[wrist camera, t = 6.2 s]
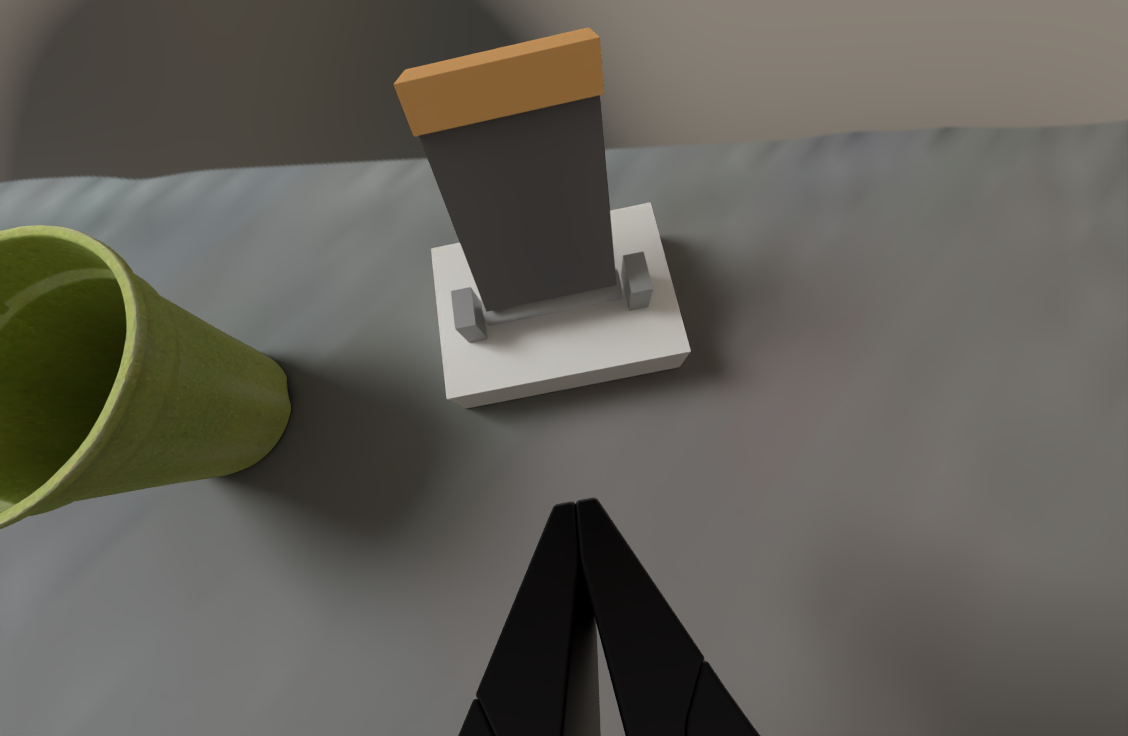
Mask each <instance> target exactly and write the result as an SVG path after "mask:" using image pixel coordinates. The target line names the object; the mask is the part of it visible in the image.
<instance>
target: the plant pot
mask: <svg viewBox="0 0 1128 736" xmlns="http://www.w3.org/2000/svg"><path fill="white" fill-rule="evenodd" d="M290 412H291V404H290V400H289V396H288V390H287V377H286V375H285V373H284V371H283V370H282V368H281V367H280V366H279V365H278V364H277V363H276V362H275V361H274V360H273V359H271V358H270V357H268V356H266V355H264V354H262V353H261V352H259V351H257V350H255V349H254V348H252V347H250V346H248V345H246V344H245V343H243V342H241V341H239V340H237V339H235V338H233V337H232V336H230V335H228V334H226V333H224V332H222V331H221V330H219V329H217V328H215V327H213V326H212V325H210V324H208V323H207V322H205V321H203V320H201V319H200V318H198V317H196V316H194V315H193V314H191V313H189V312H188V311H186V310H184V309H182V308H181V307H179V306H177V305H176V304H174V303H172V302H170V301H169V300H167V299H165V298H163V297H162V296H160V295H159V294H158V293H157V291H156V290H155V289H154V288H153V287H152V286H150V285H149V284H148V283H147V282H146V281H145V280H143V279H142V278H140V277H139V276H137V275H135V274H134V273H133V271H132V270H131V268H130V267H129V266H128V264H127V263H126V262H125V261H124V259H123V258H122V257H120V256H119V255H118V254H117V253H116V252H115V251H114V250H113V249H111V248H110V247H108V246H107V245H105V244H104V243H102V242H100V241H99V240H97V239H95V238H93V237H91V236H88V235H86V234H84V233H82V232H79V231H76V230H73V229H69V228H64V227H58V226H41V225H39V226H23V227H17V228H13V229H8V230H3V231H0V529H2V528H4V527H7V526H9V525H11V524H13V523H16V522H18V521H20V520H22V519H23V518H25V517H27V516H33V515H37V514H41V513H45V512H49V511H52V510H55V509H57V508H60V507H62V506H65V505H67V504H69V503H72V502H74V501H79V500H84V499H90V498H96V497H102V496H107V495H113V494H118V493H124V492H129V491H135V490H140V489H145V488H151V487H157V486H163V485H169V484H175V483H181V482H188V481H194V480H201V479H207V478H213V477H219V476H225V475H229V474H232V473H235V472H238V471H240V470H243V469H245V468H248V467H250V466H252V465H254V464H256V463H257V462H258V461H260V460H261V459H262V458H264V457H265V456H266V455H267V454H268V453H269V452H270V451H271V450H272V449H273V447H274V446H275V445H276V444H277V442H278V441H279V439H280V437H281V436H282V434H283V432H284V430H285V428H286V425H287V423H288V420H289V416H290Z"/></svg>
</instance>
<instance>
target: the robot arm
mask: <svg viewBox="0 0 1128 736" xmlns="http://www.w3.org/2000/svg"><path fill="white" fill-rule="evenodd" d="M596 623H597V627H598V631H599V635H600V639H601V643H602V647H603V650H604V654H605V658H606V662H607V666H608V670H609V673H610V677H611V681H612V685H613V689H614V693H615V697H616V700H617V704H618V708H619V712H620V716H621V720H622V723H623V727H624V731H625V735H626V736H760V735H759V733H758V732H757V731H756V730H755V728H754V727H753V726H752V724H751V723H750V722H749V720H748V719H747V717H746V716H745V715H744V713H743V712H742V710H741V709H740V708H739V706H738V705H737V703H736V702H735V701H734V699H733V698H732V696H731V695H730V694H729V692H728V691H727V689H726V688H725V687H724V685H723V684H722V682H721V681H720V679H719V678H718V676H717V675H716V673H715V672H714V670H713V669H712V667H711V666H710V664H709V663H708V662H706V661H705V662H704V656H703V655H702V653H701V652H700V650H699V649H698V647H697V646H696V644H695V643H694V641H693V640H692V638H691V637H690V635H689V634H688V632H687V631H686V629H685V628H684V626H683V625H682V623H681V622H680V620H679V619H678V618H677V616H676V615H675V613H674V612H673V610H672V609H671V607H670V606H669V604H668V603H667V601H666V600H665V598H664V597H663V595H662V594H661V592H660V591H659V589H658V588H657V586H656V585H655V583H654V582H653V581H652V579H651V578H650V576H649V575H648V573H647V572H646V570H645V569H644V567H643V566H642V564H641V563H640V561H639V560H638V558H637V557H636V555H635V554H634V552H633V551H632V549H631V548H630V546H629V545H628V544H627V542H626V541H625V539H624V538H623V536H622V535H621V533H620V532H619V530H618V529H617V527H616V526H615V524H614V523H613V521H612V520H611V518H610V517H609V515H608V514H607V512H606V511H605V509H604V508H603V507H602V505H601V504H600V502H599V501H598V499H596V498H588V499H583V500H578V501H577V502H576V504H575V503H574V502H566V503H561V504H556V505H555V506H554V507H553V509H552V511H551V513H550V516H549V518H548V521H547V523H546V526H545V528H544V530H543V533H542V535H541V538H540V540H539V542H538V545H537V547H536V550H535V552H534V555H533V557H532V559H531V562H530V564H529V567H528V569H527V572H526V574H525V576H524V579H523V581H522V584H521V586H520V588H519V591H518V593H517V596H516V598H515V601H514V603H513V605H512V608H511V610H510V613H509V615H508V618H507V620H506V622H505V625H504V627H503V630H502V632H501V634H500V637H499V639H498V642H497V644H496V647H495V649H494V651H493V654H492V656H491V659H490V661H489V664H488V666H487V668H486V671H485V673H484V676H483V678H482V680H481V683H480V685H479V688H478V690H477V693H476V697H477V699H478V700H477V699H474V700H473V702H472V704H471V707H470V709H469V711H468V714H467V716H466V719H465V721H464V724H463V726H462V728H461V731H460V733H459V735H458V736H601V734H600V708H599V681H598V654H597V631H596Z"/></svg>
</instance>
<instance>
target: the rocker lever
mask: <svg viewBox="0 0 1128 736" xmlns="http://www.w3.org/2000/svg"><path fill="white" fill-rule="evenodd" d="M394 87H395V89H396V92H397V94H398V97H399V99H400V102H401V105H402V107H403V110H404V112H405V115H406V117H407V120H408V122H409V125H410V127H411V130H412V133H413V135H414V136H419V137H420V139H421V142H422V145H423V147H424V150H425V153H426V155H427V158H428V161H429V163H430V166H431V168H432V171H433V174H434V176H435V179H436V181H437V184H438V187H439V189H440V192H441V195H442V197H443V200H444V202H445V205H446V208H447V210H448V213H449V215H450V218H451V221H452V223H453V226H454V228H455V231H456V234H457V236H458V239H459V242H460V244H461V247H462V249H463V252H464V255H465V257H466V260H467V262H468V265H469V268H470V270H471V273H472V275H473V278H474V281H475V283H476V286H477V289H478V291H479V294H480V296H481V305H482V311H483V315H484V318H485V321H486V323H487V325H488V326H491V325H496V324H501V323H506V322H511V321H515V320H520V319H525V318H530V317H535V316H540V315H545V314H550V313H555V312H560V311H565V310H570V309H575V308H580V307H585V306H590V305H595V304H600V303H605V302H610V301H615V300H619V299H622V289H621V282H620V277H619V273H618V270H617V269H615V261H614V250H613V238H612V227H611V216H610V205H609V193H608V182H607V171H606V160H605V148H604V137H603V126H602V114H601V103H600V95H603V94H604V84H603V72H602V60H601V47H600V37H599V36H598V35H596V33H594V32H593V31H592V30H591V29H590V28H585V29H580V30H575V31H571V32H567V33H563V34H558V35H554V36H549V37H545V38H541V39H537V40H532V41H528V42H523V43H519V44H515V45H511V46H506V47H502V48H497V49H493V50H489V51H485V52H480V53H476V54H471V55H467V56H463V57H458V58H454V59H450V60H445V61H441V62H437V63H432V64H428V65H424V66H419V67H415V68H411V69H406V70H405V71H404V72H403V73H402V74H401V76H400V77H399V78H398V79H397V81H396V82H395V83H394Z"/></svg>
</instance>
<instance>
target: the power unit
mask: <svg viewBox="0 0 1128 736" xmlns="http://www.w3.org/2000/svg"><path fill="white" fill-rule="evenodd" d="M610 216H611V227H612V238H613V250H614V261H615V269H617V270H618V273H619V277H620V282H621V289H622V299H619V300H615V301H610V302H605V303H600V304H595V305H590V306H585V307H580V308H575V309H570V310H565V311H560V312H555V313H550V314H545V315H540V316H535V317H530V318H525V319H520V320H515V321H511V322H506V323H501V324H496V325H491V326H488V325H487V323H486V321H485V318H484V315H483V311H482V305H481V296H480V294H479V291H478V289H477V286H476V283H475V281H474V278H473V275H472V273H471V270H470V268H469V265H468V262H467V260H466V257H465V255H464V252H463V249H462V247H461V244H460V243H456V244H451V245H446V246H441V247H437V248H432V249H431V253H432V263H433V272H434V282H435V292H436V301H437V311H438V321H439V330H440V340H441V350H442V359H443V369H444V379H445V388H446V398H447V399H448V400H450V401H452V402H454V403H456V404H458V405H460V406H462V407H464V408H466V409H467V408H472V407H477V406H482V405H487V404H492V403H498V402H503V401H508V400H513V399H518V398H523V397H529V396H534V395H539V394H544V393H549V392H554V391H560V390H565V389H570V388H575V387H580V386H585V385H591V384H596V383H601V382H606V381H611V380H616V379H622V378H627V377H632V376H637V375H642V374H647V373H652V372H658V371H663V370H668V369H673V368H678V367H680V366H681V365H682V363H683V362H684V360H685V359H686V358H687V356H688V355H689V353H690V352H691V350H690V346H689V342H688V339H687V335H686V331H685V328H684V324H683V320H682V317H681V313H680V309H679V306H678V302H677V298H676V295H675V291H674V287H673V284H672V280H671V276H670V273H669V269H668V265H667V262H666V258H665V254H664V251H663V247H662V243H661V240H660V236H659V232H658V229H657V225H656V221H655V218H654V214H653V210H652V206H651V203H645V204H640V205H636V206H631V207H626V208H621V209H617V210H612V211H610Z"/></svg>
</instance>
